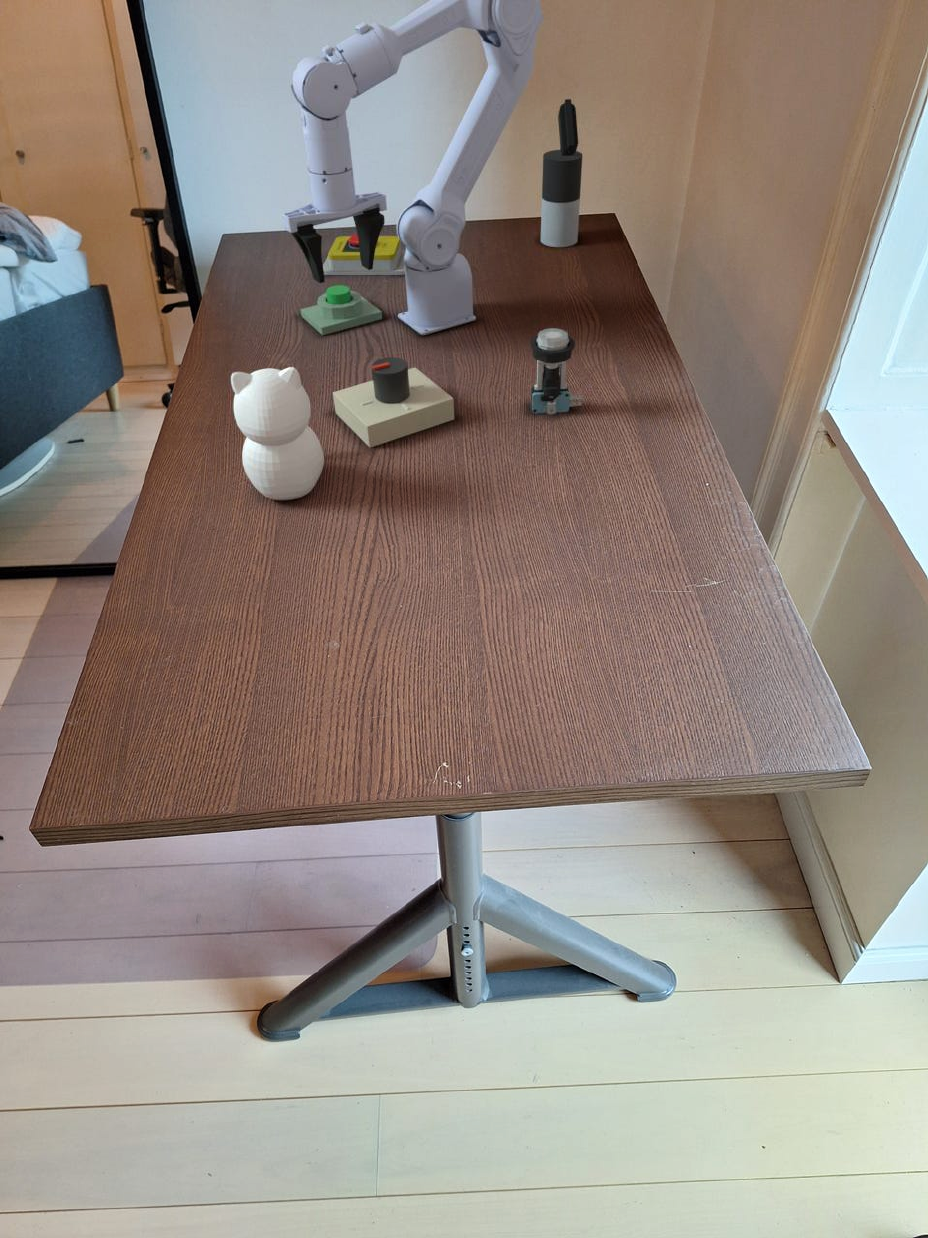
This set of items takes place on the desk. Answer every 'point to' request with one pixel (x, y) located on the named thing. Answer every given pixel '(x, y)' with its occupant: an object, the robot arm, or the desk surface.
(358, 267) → the emergency button
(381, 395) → the dimmer knob
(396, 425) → the dimmer panel
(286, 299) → the desk surface
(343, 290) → the light button
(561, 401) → the push button
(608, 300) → the desk surface
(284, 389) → the cat figurine
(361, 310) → the switch block
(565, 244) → the track light
